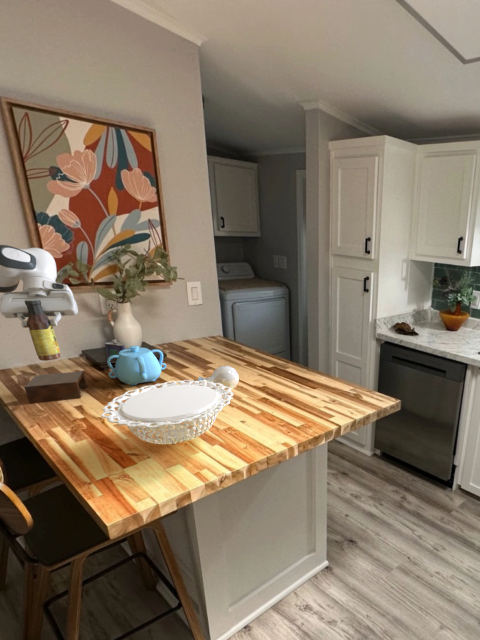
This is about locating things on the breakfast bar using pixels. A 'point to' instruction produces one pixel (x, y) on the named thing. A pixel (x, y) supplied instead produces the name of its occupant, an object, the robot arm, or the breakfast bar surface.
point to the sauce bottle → (41, 331)
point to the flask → (114, 348)
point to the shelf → (55, 387)
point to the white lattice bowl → (169, 410)
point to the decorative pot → (136, 365)
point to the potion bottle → (223, 377)
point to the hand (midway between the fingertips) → (39, 326)
